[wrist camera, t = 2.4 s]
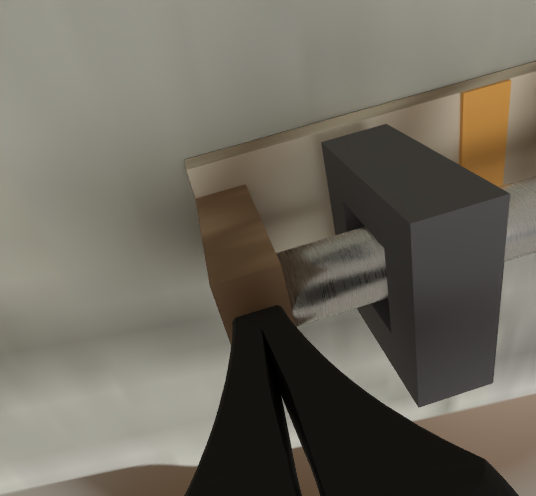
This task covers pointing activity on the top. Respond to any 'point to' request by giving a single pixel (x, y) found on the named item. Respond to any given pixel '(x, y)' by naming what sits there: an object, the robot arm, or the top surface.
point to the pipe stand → (318, 201)
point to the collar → (425, 256)
